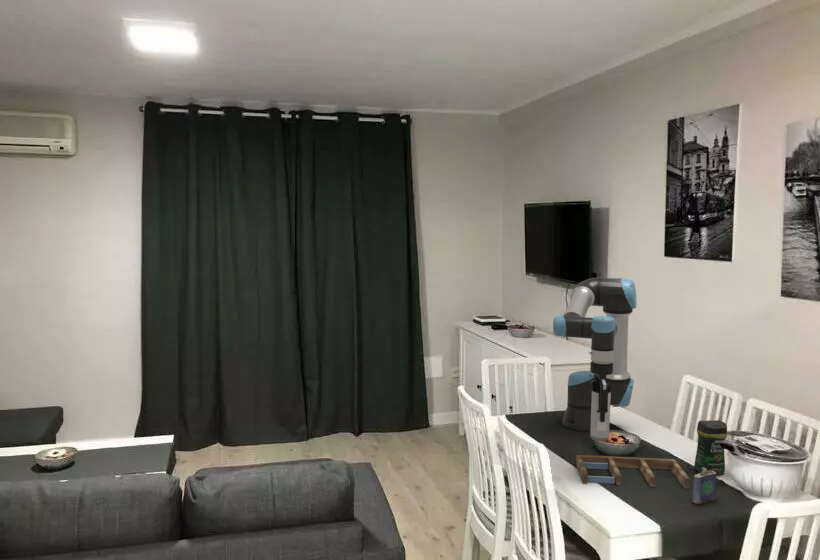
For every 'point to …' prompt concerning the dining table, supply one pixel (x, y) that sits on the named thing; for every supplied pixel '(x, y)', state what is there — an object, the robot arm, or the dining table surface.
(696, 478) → the flask
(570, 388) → the robot arm
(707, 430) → the coffee jar
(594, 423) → the travel mug
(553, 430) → the dining table surface
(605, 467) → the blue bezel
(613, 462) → the divider rack
